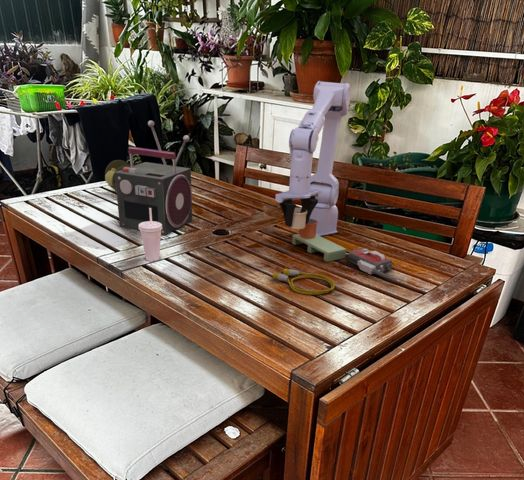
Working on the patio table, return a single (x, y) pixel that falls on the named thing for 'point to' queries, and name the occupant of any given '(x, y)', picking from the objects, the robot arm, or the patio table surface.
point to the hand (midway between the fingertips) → (296, 224)
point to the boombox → (154, 190)
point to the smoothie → (151, 238)
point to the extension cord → (294, 272)
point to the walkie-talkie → (370, 262)
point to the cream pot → (299, 218)
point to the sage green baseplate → (321, 247)
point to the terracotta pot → (309, 229)
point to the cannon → (113, 168)
